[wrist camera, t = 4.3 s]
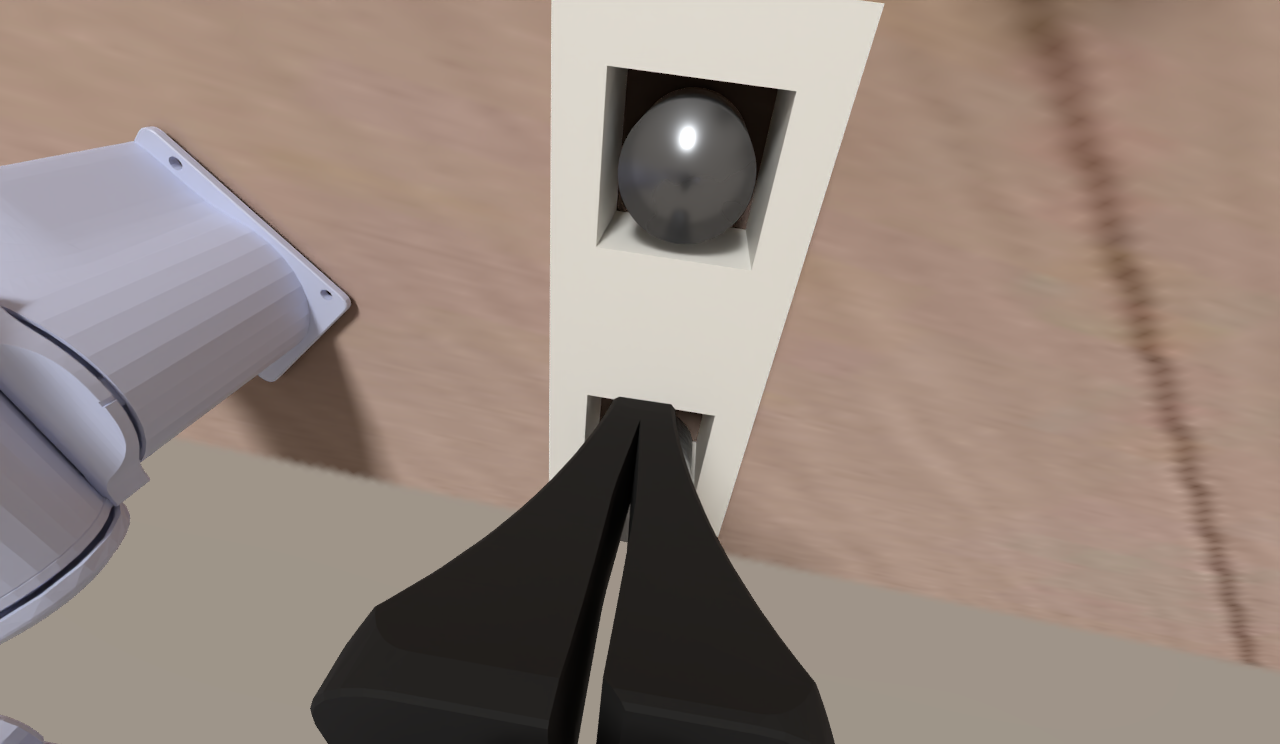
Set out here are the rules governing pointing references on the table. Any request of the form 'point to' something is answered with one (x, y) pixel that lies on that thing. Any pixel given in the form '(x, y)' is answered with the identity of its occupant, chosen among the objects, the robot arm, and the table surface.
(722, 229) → the peg
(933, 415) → the table surface
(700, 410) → the band board
